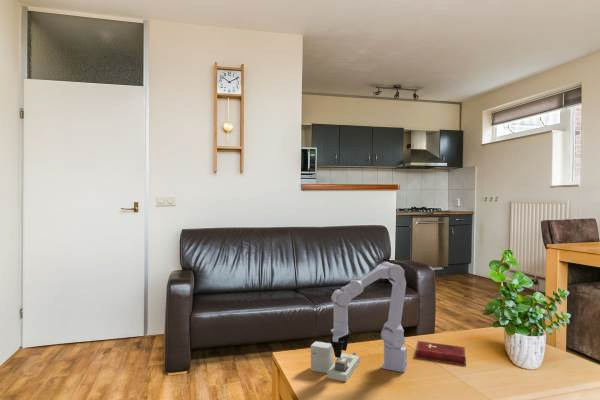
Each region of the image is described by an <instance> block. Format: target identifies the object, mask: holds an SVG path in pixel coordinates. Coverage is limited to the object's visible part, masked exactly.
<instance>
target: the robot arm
mask: <svg viewBox="0 0 600 400" xmlns="http://www.w3.org/2000/svg"><path fill="white" fill-rule="evenodd" d="M379 279H383V280H384V279H387V280H388V281H389V283H391V284H392V287H391V295H390V301H389V302H390V303H389V308H388V309H389V310H388V316H387V321H386V322H385V323H383V327H382V329H381V333H380V337H381V340H382V341H383V363H382V364H381V369H384V370H390V371H393V372H400V373H405V371H406V369H407V366H408V362H407V361H408V360H407V359H408V357H407V356H408V353H407V351H408V350H407V347H405V346H404V344H405V340H406V339H405V336H404V335H405V334H404V333H405V330H404V328H403V326H402V317H403V311H404V310H403V308H404V303H405V296H406V289H407V280H406V277H405V269H404V268H403V267H402V266H401V265H400V264H395V263H391V262H389V261H383V262H381V263H380V264H378V265H376V267H375V268H374V269H372V270H370V272H369V273H367V274H365V276H363V277H361V279H354V280H353V279H351V280H350V282H349V283H348V284H346V285H345V286H342V287H341V288H340V289H335V290H334V292H333V293H332V294H331V296H330V298H331V301H332V302H333V328H331V330H330V332H331V333H332V337H331V338H330V339H329V343H330V344H331V345H332V347H333V354H334V357H335V358H336V359H337V358H340V357H341V354H342V353H343V352H344V351H345V352H346V351H347V348H348V343H349V340H350V337H351V335H352V332H350V331H349V324H348V323H349V322H348V321H349V314H348V313H349V310H348V308H349V307H348V306H349V304H350V303H351V300H352V299H354V298H356V297H357V296H359V295H361V293H363V292H364V289H365V288H366V287H367V286H369V285H371V284H372V283H374V282H376V281H377V280H379Z"/></svg>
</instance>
